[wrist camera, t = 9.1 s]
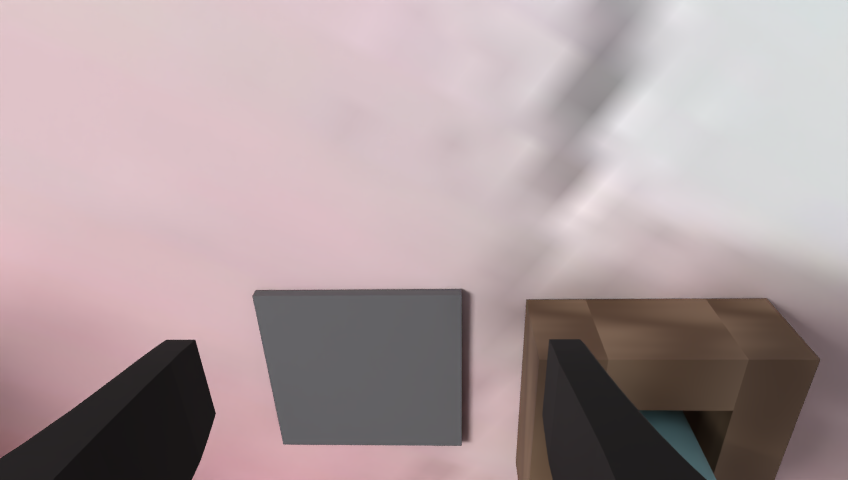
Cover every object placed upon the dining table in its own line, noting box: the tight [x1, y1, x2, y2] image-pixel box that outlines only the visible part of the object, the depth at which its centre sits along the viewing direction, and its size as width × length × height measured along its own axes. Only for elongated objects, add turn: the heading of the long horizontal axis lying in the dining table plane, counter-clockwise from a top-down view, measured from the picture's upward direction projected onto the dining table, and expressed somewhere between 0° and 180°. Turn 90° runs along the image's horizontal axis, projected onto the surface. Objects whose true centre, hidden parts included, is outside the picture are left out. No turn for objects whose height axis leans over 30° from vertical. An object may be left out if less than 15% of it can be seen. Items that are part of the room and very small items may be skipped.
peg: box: [639, 410, 716, 480], centre depth 20 cm, size 3×3×9 cm
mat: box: [253, 289, 462, 446], centre depth 24 cm, size 8×8×1 cm
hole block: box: [516, 298, 820, 480], centre depth 22 cm, size 9×9×4 cm
